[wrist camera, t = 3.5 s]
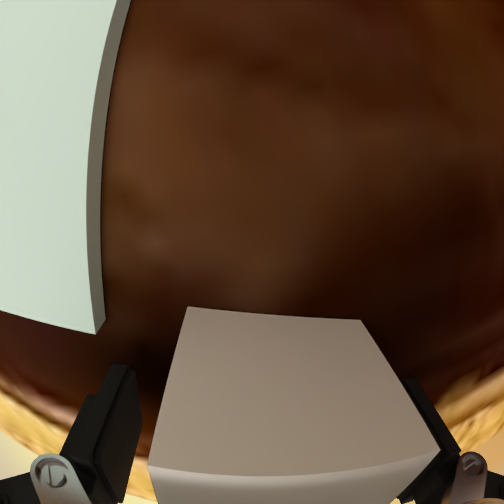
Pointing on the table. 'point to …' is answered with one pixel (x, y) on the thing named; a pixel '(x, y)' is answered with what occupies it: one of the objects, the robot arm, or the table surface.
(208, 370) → the off-white plain cube
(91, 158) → the stub plate
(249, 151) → the table surface
